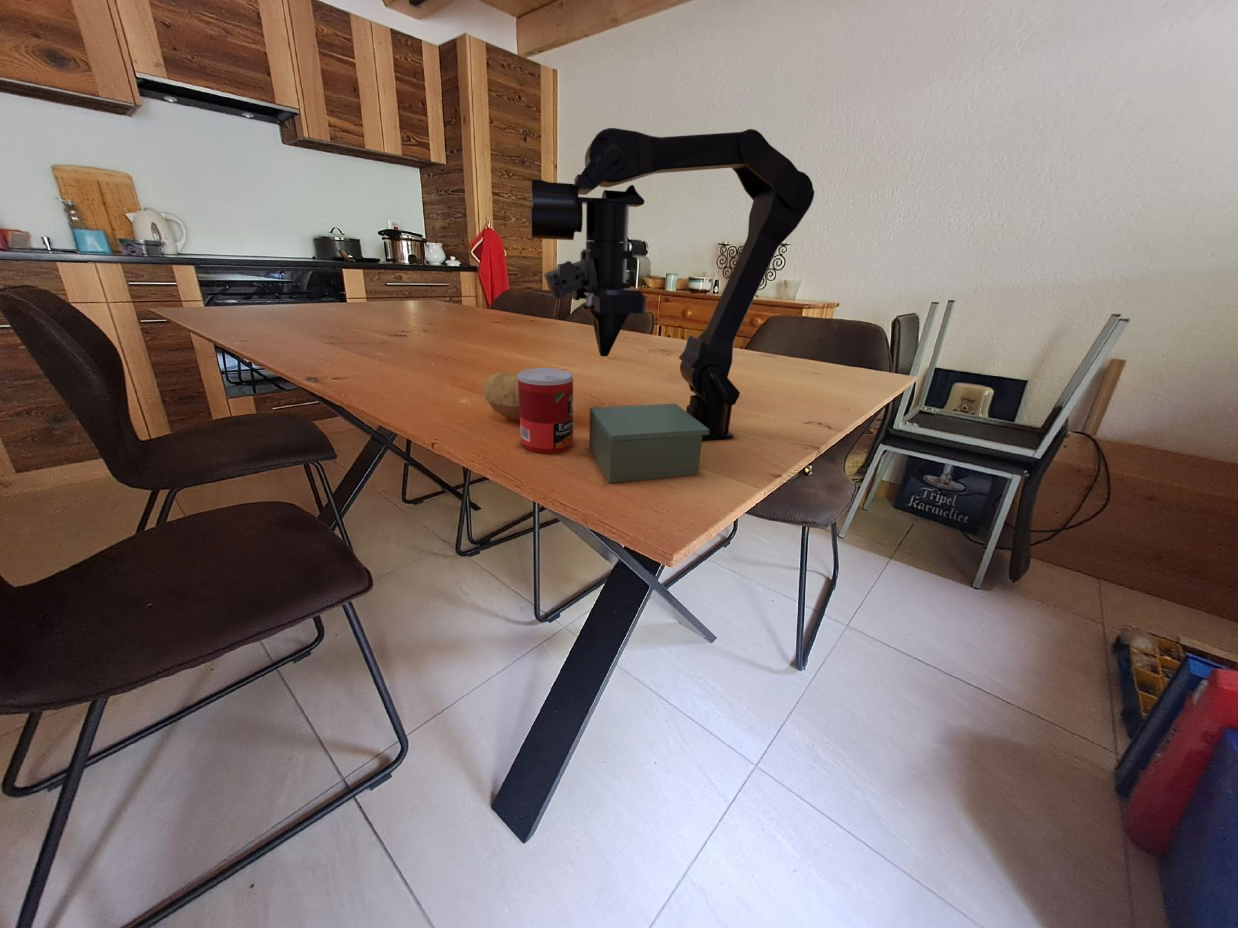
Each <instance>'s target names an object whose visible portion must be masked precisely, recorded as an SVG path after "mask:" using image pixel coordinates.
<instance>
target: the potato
mask: <svg viewBox="0 0 1238 928" xmlns="http://www.w3.org/2000/svg"><path fill="white" fill-rule="evenodd" d="M482 390H483V394H484V398H485V400H486V402H487V403H488V404H489V406H490V407H491V408H492V410H493V411H494V412H496V413H498V414H499V415H501V416H503V417H505V418H507V419H508V420H510V421H511V420H512V421H513V422H518V423H520V411H519V393H518V373H512V372H497V373H494V374H491V375H489V376H488V378H487V379H486V380H485V382H484V384H483V388H482Z"/></svg>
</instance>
